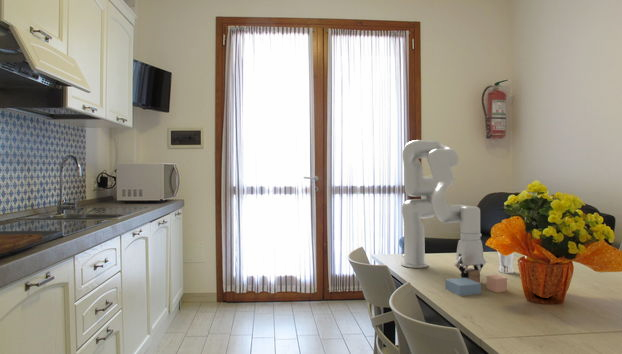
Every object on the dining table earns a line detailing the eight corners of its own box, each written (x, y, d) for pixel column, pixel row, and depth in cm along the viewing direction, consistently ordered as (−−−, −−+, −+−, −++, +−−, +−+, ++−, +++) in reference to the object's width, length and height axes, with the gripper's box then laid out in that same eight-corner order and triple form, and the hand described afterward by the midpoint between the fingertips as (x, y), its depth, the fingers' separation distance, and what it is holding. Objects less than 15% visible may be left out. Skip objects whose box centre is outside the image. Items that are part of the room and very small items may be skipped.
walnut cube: (461, 281, 164) (461, 269, 164) (471, 280, 166) (471, 268, 166) (469, 284, 160) (469, 271, 160) (479, 283, 161) (479, 270, 161)
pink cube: (486, 288, 154) (486, 275, 154) (496, 287, 155) (496, 274, 155) (496, 292, 149) (496, 279, 149) (507, 291, 151) (507, 278, 150)
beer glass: (498, 273, 177) (497, 239, 176) (497, 269, 183) (497, 236, 183) (515, 274, 174) (515, 239, 174) (514, 270, 181) (514, 237, 180)
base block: (445, 289, 154) (445, 279, 154) (465, 287, 156) (465, 277, 156) (459, 296, 145) (459, 285, 145) (481, 294, 148) (481, 283, 148)
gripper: (480, 234, 169) (481, 277, 169) (446, 236, 163) (447, 281, 164) (494, 236, 162) (494, 281, 162) (458, 239, 156) (459, 286, 157)
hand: (470, 280), depth 163 cm, fingers closed on walnut cube, 4 cm apart
